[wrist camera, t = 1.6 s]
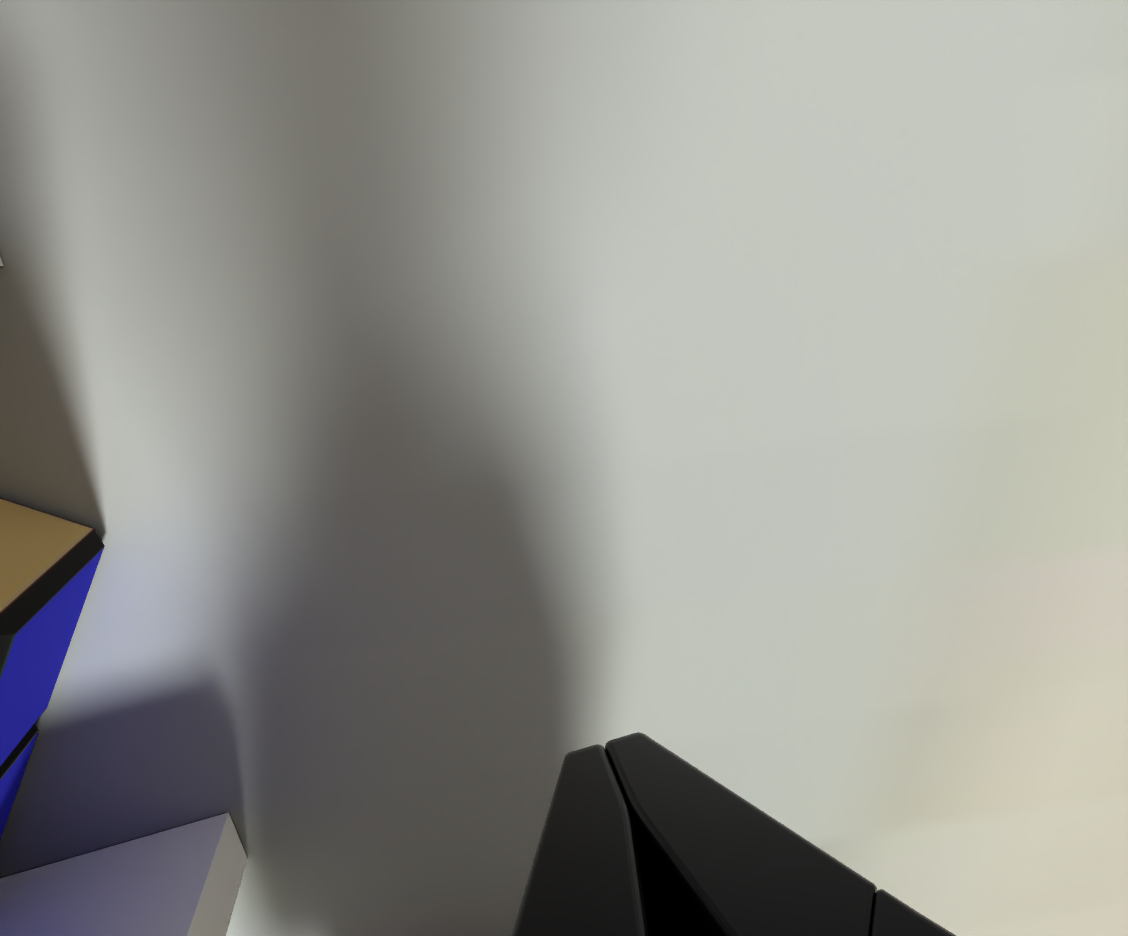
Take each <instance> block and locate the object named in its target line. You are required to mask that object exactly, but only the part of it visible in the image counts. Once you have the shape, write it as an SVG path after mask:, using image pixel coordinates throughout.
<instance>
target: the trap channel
mask: <svg viewBox="0 0 1128 936" xmlns="http://www.w3.org/2000/svg"><path fill="white" fill-rule="evenodd" d="M1 266H4V265H3V263H2V260H1V258H0V267H1ZM247 859H248V858H247V856H246V854H245V851H244V849H243V846H242V844H241V841H240V839H239V837H238V834H237V832H236V829H235V827H234V824H233V822H232V820H231V817H230V815H229V813H225V814H222V815H218V816H215V817H211V818H208V819H204V820H201V821H197V822H194V823H191V824H187V825H184V826H180V827H177V828H173V829H170V830H166V831H163V832H159V833H156V834H153V835H149V836H146V837H142V838H139V839H135V840H132V841H128V842H125V843H121V844H118V845H115V846H111V847H108V848H104V849H101V850H97V851H94V852H90V853H87V854H83V855H80V856H76V857H73V858H70V859H66V860H63V861H59V862H56V863H52V864H49V865H45V866H42V867H38V868H35V869H32V870H28V871H25V872H21V873H18V874H14V875H11V876H7V877H4V878H0V936H226V933H227V930H228V926H229V922H230V919H231V915H232V912H233V908H234V905H235V901H236V898H237V894H238V891H239V887H240V883H241V880H242V876H243V873H244V869H245V866H246V862H247Z"/></svg>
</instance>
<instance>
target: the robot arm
mask: <svg viewBox="0 0 1128 936" xmlns="http://www.w3.org/2000/svg"><path fill="white" fill-rule="evenodd" d="M511 936H956V935H954V934H953V933H951V932H949V931H948V930H946V929H944V928H943V927H941V926H940V925H938V924H936V923H935V922H933V921H931V920H930V919H928V918H926V917H925V916H923V915H922V914H920V913H918V912H917V911H915V910H914V909H912V908H911V907H909V906H907V905H906V904H904V903H903V902H901V901H900V900H898V899H897V898H895V897H894V896H892V895H891V894H889V893H888V892H886V891H884V890H882V889H880V890H878V891H877V888H876V886H875V885H874V884H873V883H872V882H870V881H869V880H867V879H865V878H864V877H862V876H861V875H859V874H858V873H856V872H855V871H853V870H852V869H850V868H849V867H847V866H846V865H844V864H842V863H841V862H839V861H838V860H836V859H835V858H833V857H832V856H830V855H829V854H827V853H826V852H824V851H823V850H821V849H819V848H818V847H816V846H815V845H813V844H812V843H810V842H809V841H807V840H806V839H804V838H803V837H801V836H800V835H798V834H796V833H795V832H793V831H792V830H790V829H789V828H787V827H786V826H784V825H783V824H781V823H780V822H778V821H777V820H775V819H773V818H772V817H770V816H769V815H767V814H766V813H764V812H763V811H761V810H760V809H758V808H757V807H755V806H754V805H752V804H751V803H749V802H747V801H746V800H744V799H743V798H741V797H740V796H738V795H737V794H735V793H734V792H732V791H731V790H729V789H728V788H726V787H724V786H723V785H721V784H720V783H718V782H717V781H715V780H714V779H712V778H711V777H709V776H708V775H706V774H705V773H703V772H701V771H700V770H698V769H697V768H695V767H694V766H692V765H691V764H689V763H688V762H686V761H685V760H683V759H682V758H680V757H678V756H677V755H675V754H674V753H672V752H671V751H669V750H668V749H666V748H665V747H663V746H662V745H660V744H659V743H657V742H655V741H654V740H652V739H651V738H649V737H648V736H646V735H645V734H643V733H639V732H638V733H634V734H630V735H627V736H623V737H620V738H617V739H613V740H610V741H608V742H607V743H606V746H605V748H604V747H603V746H602V745H599V744H598V745H593V746H590V747H586V748H583V749H579V750H576V751H572V752H570V753H568V754H567V755H566V756H565V758H564V761H563V764H562V768H561V771H560V774H559V778H558V781H557V784H556V788H555V791H554V794H553V798H552V801H551V804H550V808H549V811H548V815H547V818H546V821H545V825H544V828H543V831H542V835H541V838H540V841H539V845H538V848H537V851H536V855H535V858H534V861H533V865H532V868H531V871H530V875H529V878H528V881H527V885H526V888H525V892H524V895H523V898H522V902H521V905H520V908H519V912H518V915H517V918H516V922H515V925H514V928H513V932H512V935H511Z"/></svg>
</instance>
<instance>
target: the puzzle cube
mask: <svg viewBox="0 0 1128 936" xmlns="http://www.w3.org/2000/svg"><path fill="white" fill-rule="evenodd" d="M103 549H104V544H103V543H102V541H101V539H100V538H99V536H98V534H97V533H96V531H95V529H93V528H90V527H87V526H84V525H81V524H78V523H75V522H72V521H69V520H65V519H62V518H59V517H56V516H53V515H50V514H47V513H44V512H41V511H38V510H35V509H32V508H29V507H26V506H23V505H19V504H16V503H13V502H10V501H7V500H4V499H1V498H0V838H1V835H2V832H3V830H4V827H5V824H6V821H7V818H8V816H9V813H10V810H11V807H12V804H13V801H14V799H15V796H16V793H17V790H18V787H19V785H20V782H21V779H22V776H23V773H24V771H25V768H26V765H27V762H28V759H29V756H30V754H31V751H32V748H33V745H34V742H35V740H36V737H37V734H38V731H39V730H38V729H37V727H36V726H35V724H34V723H35V722H36V721H37V719H38V718H39V717H40V716H41V714H42V713H43V712H44V711H45V709H46V708H47V706H48V703H49V700H50V697H51V695H52V692H53V689H54V686H55V683H56V681H57V678H58V675H59V672H60V669H61V667H62V664H63V661H64V658H65V655H66V653H67V650H68V647H69V644H70V641H71V638H72V636H73V633H74V630H75V627H76V624H77V622H78V619H79V616H80V613H81V610H82V608H83V605H84V602H85V599H86V596H87V593H88V591H89V588H90V585H91V582H92V579H93V577H94V574H95V571H96V568H97V565H98V563H99V560H100V557H101V554H102V551H103Z"/></svg>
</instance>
